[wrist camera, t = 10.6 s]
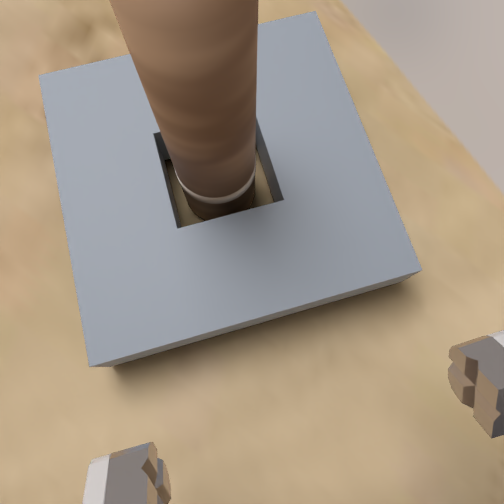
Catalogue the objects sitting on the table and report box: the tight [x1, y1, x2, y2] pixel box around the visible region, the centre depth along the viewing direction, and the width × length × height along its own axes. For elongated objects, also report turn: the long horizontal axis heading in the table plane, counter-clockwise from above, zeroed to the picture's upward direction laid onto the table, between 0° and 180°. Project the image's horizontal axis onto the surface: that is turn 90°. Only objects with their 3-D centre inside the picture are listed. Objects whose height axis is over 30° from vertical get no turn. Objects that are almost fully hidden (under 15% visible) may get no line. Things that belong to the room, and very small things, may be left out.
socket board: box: [39, 11, 422, 367], centre depth 19 cm, size 14×14×2 cm
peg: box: [109, 0, 258, 221], centre depth 15 cm, size 4×4×12 cm
